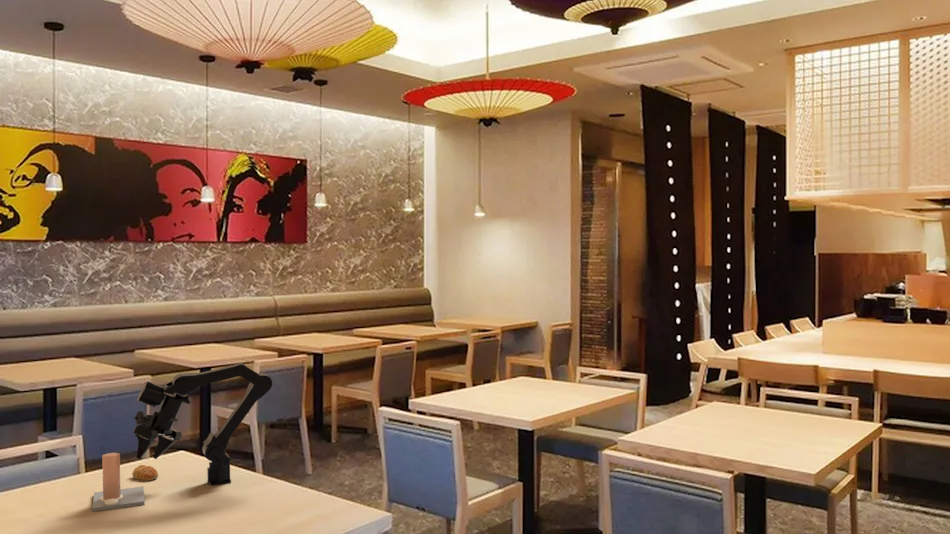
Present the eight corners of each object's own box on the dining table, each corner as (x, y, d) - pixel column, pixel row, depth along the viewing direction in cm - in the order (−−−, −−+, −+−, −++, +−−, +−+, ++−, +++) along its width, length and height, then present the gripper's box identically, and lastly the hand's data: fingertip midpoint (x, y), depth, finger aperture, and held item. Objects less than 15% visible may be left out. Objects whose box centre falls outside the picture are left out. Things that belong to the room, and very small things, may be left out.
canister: (123, 494, 234) (122, 452, 234) (116, 499, 230) (115, 456, 229) (107, 495, 234) (106, 453, 234) (100, 500, 229) (99, 457, 229)
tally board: (143, 489, 243) (143, 483, 243) (144, 504, 228) (144, 498, 228) (94, 495, 237) (94, 489, 237) (92, 511, 223) (92, 504, 223)
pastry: (163, 478, 255) (163, 467, 255) (144, 483, 250) (144, 472, 250) (148, 473, 261) (148, 462, 261) (129, 478, 256) (129, 467, 256)
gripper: (163, 404, 254) (142, 448, 251) (131, 400, 236) (107, 448, 233) (191, 417, 252) (170, 462, 249) (160, 414, 234) (137, 462, 231)
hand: (146, 458), depth 241 cm, fingers open, 9 cm apart
